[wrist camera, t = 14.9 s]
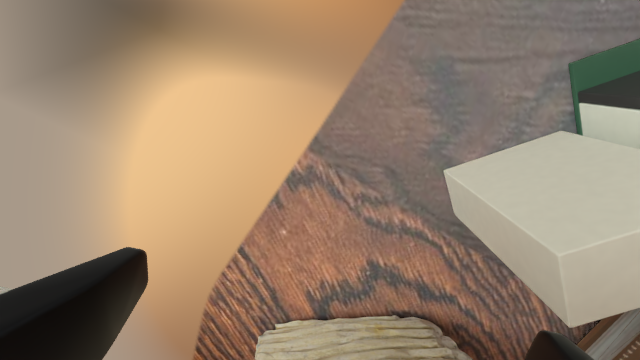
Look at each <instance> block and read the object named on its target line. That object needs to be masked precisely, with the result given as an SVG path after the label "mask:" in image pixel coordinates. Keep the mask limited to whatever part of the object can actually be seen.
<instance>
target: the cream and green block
mask: <svg viewBox="0 0 640 360" xmlns="http://www.w3.org/2000/svg"><path fill="white" fill-rule="evenodd" d="M569 71H570V79H571V87H572V95H573V103H574V111H575V118H576V126H577V134H578V135H582V136H586V137H590V138H594V139H599V140H603V141H607V142H611V143H615V144H620V145H624V146H628V147H632V148H636V149H640V39H637V40H635V41H632V42H629V43H626V44H623V45H620V46H617V47H615V48H612V49H609V50H606V51H603V52H600V53H598V54H595V55H592V56H589V57H586V58H583V59H581V60H578V61H575V62H572V63H569Z"/></svg>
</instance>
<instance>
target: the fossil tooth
mask: <svg viewBox="0 0 640 360" xmlns="http://www.w3.org/2000/svg"><path fill="white" fill-rule="evenodd" d="M275 326H276V330H270V331H266V332H265V333H264V334H263V335H261V336H259V338H258V344H257V346H256V354H255V360H473V359H472V358H471V357H469V355H468V354H467V353H464V352H463V351H461V350H459V349H458V347H457V345H456V343H455V342H454V341H453V340H452V339H450V338H449V337H447V336H443V333H442V331H441V329H440V328H439V327H438V326H436V325H435V324H433V323H432V322H429V321H427V320H424V319H420V318H416V317H409V318H402V319H401V318H399V317H397V316H396V315H394V316H384V317H362V318H337V319H333V320H327V321H323V320H312V319H310V320H304V321H301V320H296V321H292V322H289V323H285V324H275Z"/></svg>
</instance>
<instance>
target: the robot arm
mask: <svg viewBox="0 0 640 360" xmlns="http://www.w3.org/2000/svg"><path fill="white" fill-rule="evenodd" d="M147 283H148V268H147V255H146V252H145V251H143V250H141V249H136V248H131V247H126V248H123V249H120V250H118V251H115V252H112V253H110V254H107V255H105V256H102V257H99V258H96V259H93V260H91V261H88V262H85V263H83V264H80V265H77V266H75V267H72V268H69V269H67V270H64V271H61V272H58V273H56V274H53V275H51V276H48V277H45V278H43V279H40V280H37V281H34V282H32V283H29V284H26V285H23V286H21V287H18V288H15V289H13V290H10V291H7V292H5V293H2V294H0V360H102V359H103V357H104V356H105V354H106V353H107V351H108V350H109V349H110V347H111V345H112V344H113V342H114V341H115V339H116V338H117V336H118V334H119V333H120V331H121V329H122V327H123V326H124V324H125V322H126V321H127V319H128V317H129V316H130V314H131V312H132V311H133V309H134V307H135V305H136V304H137V302H138V300H139V299H140V297H141V295H142V294H143V292H144V290H145V288H146V286H147ZM525 360H594V359H593V358H592V357H591V356H589V355H588V354H587V353H586V352H584V351H583V350H582V349H580V348H579V347H578V346H577V345H575V344H574V343H573V342H572V341H570V340H569V339H568V338H567V337H565V336H564V335H562V334H560V333H555V332H550V331H545V330H544V331H540V332H539V333H538V334H537V335H536V337H535V339H534V341H533V343H532V345H531V347H530V349H529V351H528V353H527V354H526V357H525Z"/></svg>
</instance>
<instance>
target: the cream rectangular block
mask: <svg viewBox="0 0 640 360" xmlns="http://www.w3.org/2000/svg"><path fill="white" fill-rule="evenodd" d="M444 175H445V179H446V183H447V187H448V191H449V195H450V199H451V203H452V207H453V211H454V214H455V215H456V216H457V217H458V218H459V219H460V220H461V221H462V222H463V223H464V224H465V225H466V226H467V227H468V228H469V229H470V230H471V231H472V232H473V233H474V234H475V235H476V236H477V237H478V238H479V239H480V240H481V241H482V242H483V243H484V244H485V245H486V246H487V247H488V248H489V249H490V250H491V251H492V252H493V253H494V254H495V255H496V256H497V257H498V258H499V259H500V260H501V261H502V262H503V263H504V264H505V265H507V266H508V267H509V268H510V269H511V270H512V271H513V272H514V273H515V274H516V275H517V276H518V277H519V278H520V279H521V280H522V281H523V282H524V283H525V284H526V285H527V286H528V287H529V288H530V289H531V290H532V291H533V292H534V293H535V294H536V295H537V296H538V297H539V298H540V299H541V300H542V301H543V302H544V303H545V304H546V305H547V306H548V307H549V308H550V309H551V310H552V311H553V312H554V313H555V314H556V315H557V316H558V317H559V318H560V319H561V320H562V321H563V322H564V323H565V324H566V325H567V326H568V327H570V328H573V327H576V326H579V325H583V324H586V323H590V322H593V321H596V320H600V319H603V318H606V317H610V316H613V315H617V314H620V313H623V312H627V311H630V310H634V309H637V308H640V149H636V148H632V147H628V146H624V145H620V144H615V143H611V142H607V141H603V140H599V139H594V138H590V137H586V136H582V135H578V134H573V133H569V132H565V131H559V132H556V133H553V134H550V135H547V136H544V137H541V138H538V139H535V140H532V141H529V142H526V143H523V144H520V145H517V146H514V147H511V148H508V149H505V150H502V151H499V152H496V153H493V154H490V155H487V156H484V157H481V158H478V159H475V160H472V161H469V162H466V163H463V164H461V165H458V166H455V167H452V168H449V169H446V170H444Z"/></svg>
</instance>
